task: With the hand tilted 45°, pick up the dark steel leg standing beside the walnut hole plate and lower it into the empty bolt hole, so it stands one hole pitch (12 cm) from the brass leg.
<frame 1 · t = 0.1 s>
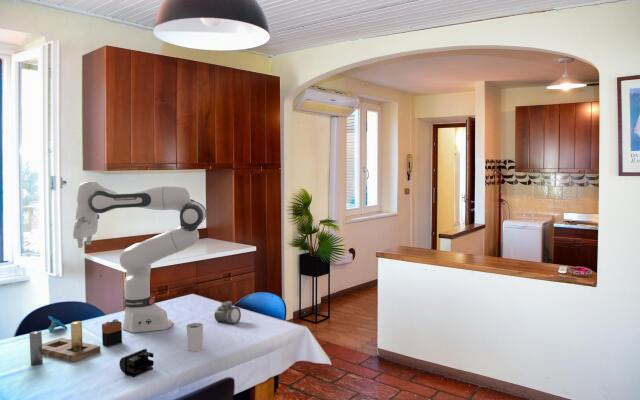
hand: (84, 246, 229), 39 cm above the table, fingers open, 8 cm apart
brass leg: (77, 354, 198), resting in hole plate
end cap: (137, 371, 181), on the table
steel leg: (36, 363, 189), on the table
battery: (112, 344, 210), on the table
pipe fitting: (226, 322, 240), on the table
grey cup: (195, 349, 203), on the table
teal piece: (57, 330, 229), on the table
hole plate: (67, 352, 200), on the table
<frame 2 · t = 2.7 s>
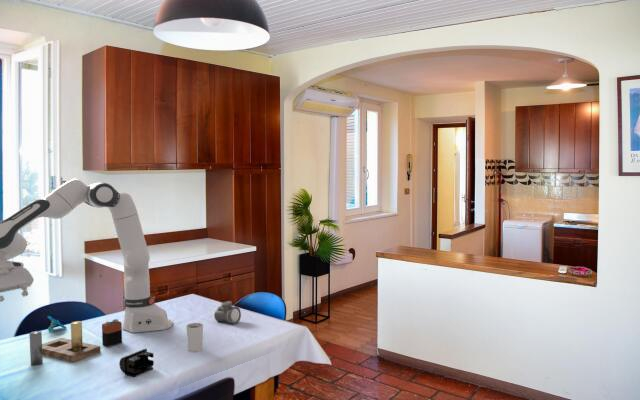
hand: (14, 298, 193), 24 cm above the table, fingers open, 8 cm apart
nothing on the table moved.
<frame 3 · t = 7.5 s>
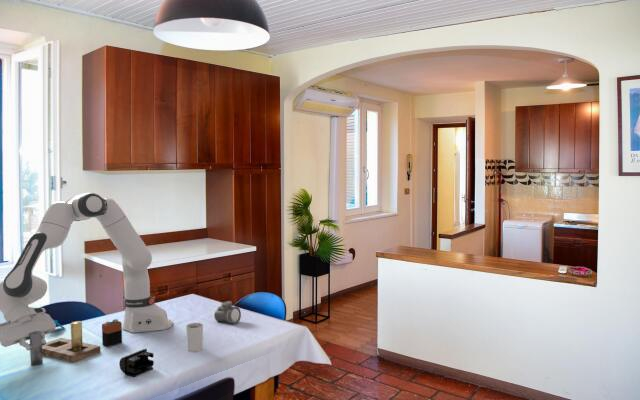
hand: (37, 346, 188), 7 cm above the table, fingers closed on steel leg, 4 cm apart
steel leg: (36, 363, 189), on the table, touching gripper
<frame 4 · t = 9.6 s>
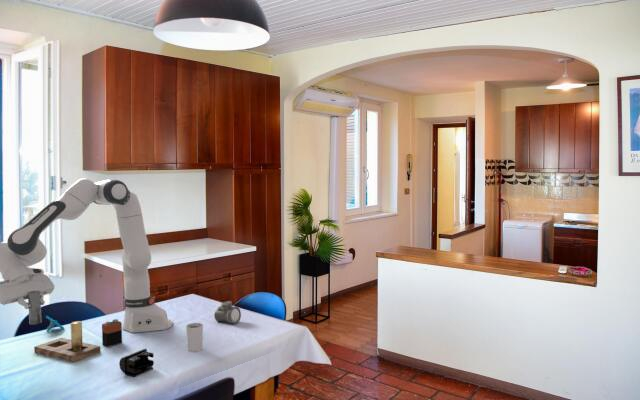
hand: (35, 306, 187), 22 cm above the table, fingers closed on steel leg, 4 cm apart
steel leg: (35, 322, 188), point 16 cm above the table, touching gripper
when the fingers open (8 cm above the table, at t = 15.2 s): steel leg stays where it is, resting in hole plate.
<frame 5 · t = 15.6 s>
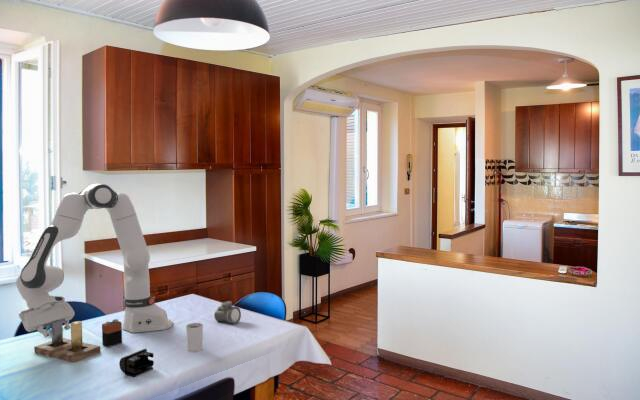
hand: (58, 332, 202), 8 cm above the table, fingers open, 8 cm apart
steel leg: (57, 350, 203), resting in hole plate
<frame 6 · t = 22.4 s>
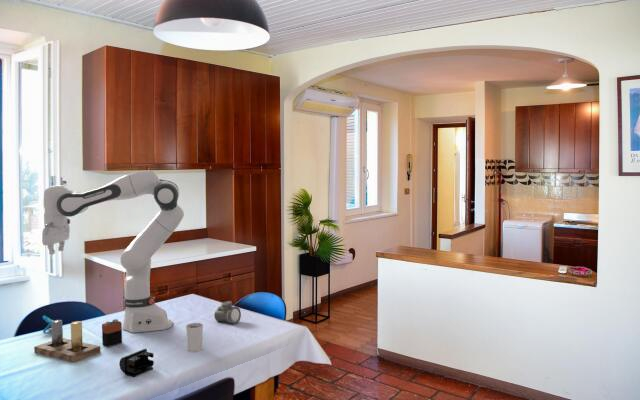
hand: (56, 252, 222), 37 cm above the table, fingers open, 8 cm apart
at the end: steel leg 0.1 cm from the target spot on the hole plate, point 0.0 cm above the hole plate's base; steel leg tilted 1°; the gripper is holding nothing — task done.
